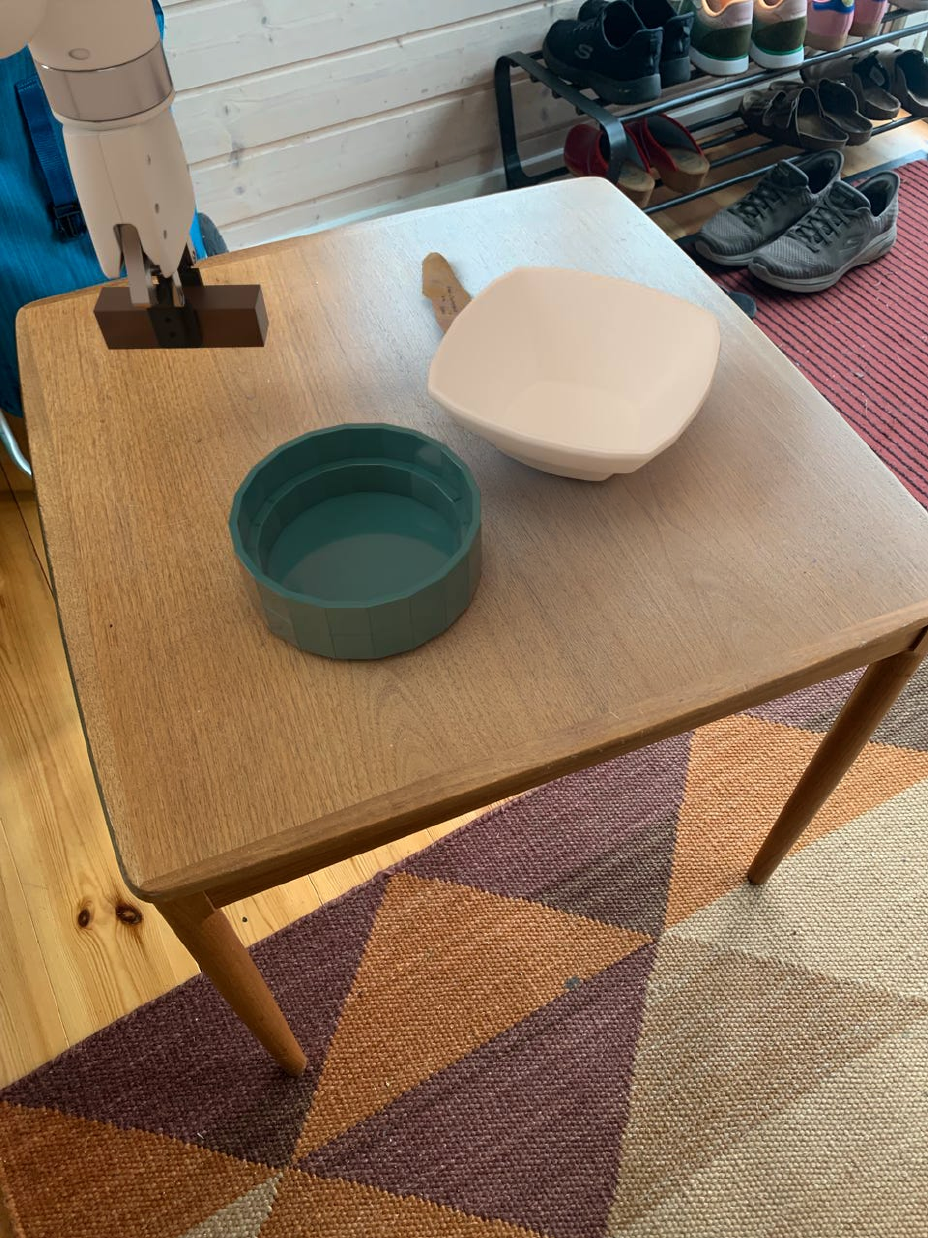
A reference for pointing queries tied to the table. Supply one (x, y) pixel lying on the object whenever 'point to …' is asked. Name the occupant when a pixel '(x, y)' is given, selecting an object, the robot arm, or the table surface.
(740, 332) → the table surface
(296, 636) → the mixing bowl
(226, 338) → the brown wooden block
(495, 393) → the bowl
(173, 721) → the table surface
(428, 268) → the stone tool
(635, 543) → the table surface
